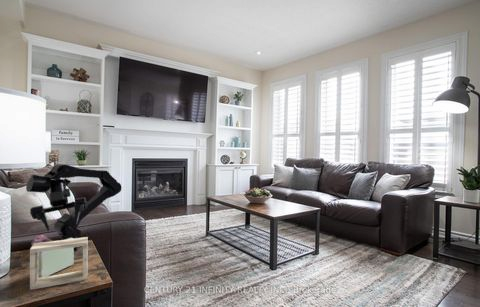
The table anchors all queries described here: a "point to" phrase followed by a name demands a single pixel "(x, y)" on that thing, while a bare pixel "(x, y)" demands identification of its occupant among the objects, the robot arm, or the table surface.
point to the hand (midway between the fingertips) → (62, 227)
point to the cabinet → (60, 278)
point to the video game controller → (40, 239)
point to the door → (55, 260)
